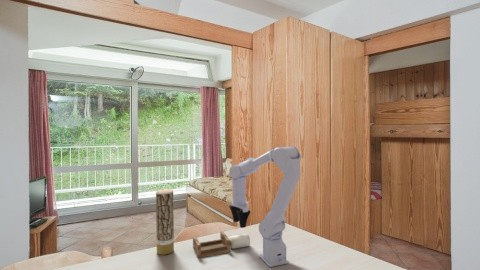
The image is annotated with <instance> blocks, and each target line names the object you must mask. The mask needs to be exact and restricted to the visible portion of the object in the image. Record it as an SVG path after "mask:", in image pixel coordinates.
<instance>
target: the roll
mask: <svg viewBox="0 0 480 270" xmlns="http://www.w3.org/2000/svg"><path fill="white" fill-rule="evenodd" d="M228 238H229V239H230V250H233V249H238V248H239V249H240V248H245V247H250V246H251V238H250V235H249V233H243V234H236V235H231V236H228Z"/></svg>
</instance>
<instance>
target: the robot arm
mask: <svg viewBox="0 0 480 270" xmlns="http://www.w3.org/2000/svg"><path fill="white" fill-rule="evenodd" d="M301 159H302V155H301V153H300V151H299V149H298V148H297V146H293V145H291V146H290V145H289V146H278V147H275V148H273V149H270V150H269V151H266V152H265V153H263V154H262V155H260V156H258V157H256V158H254V157H247V158H246V160H244V161H240V162H238V164H236V165H235V164H234V165H233V164H232V166H231V167H230V168H229V172H228V173H229V176H230V178H231V179H232V185H231V186H232V199H231V205H229V206H228V207H229V209H230V212H231V215H232V220H233V222H234V223H238V222H239V227H240V229H243V228H244V229H245V228H246V226H247V222H248V218H249V215H250V214H251V210H249V207H248V205H249V202H248V201H247V187H246V186H247V184H246V182H247V177H248V176H249V175H251V174H253V173H255V172H258V171H259V168H260V167H261V166H263V165H265V164H268V163H274V164H275V165H276V166H277V167H278V169H279V170H280V171H281V173H282V175H283V177H282V179H281V181H280V184H279V187H278V189H277V193H276V195H275V197H274V200H273V203H272V206H271V207H270V210H269V212H268V213H267V214H265V216H264V218H263V220H261V221H260V222H259V223H258V231H259V234H260V236H261V237H262V253H260V254H258V255H259V258H260V259H261V260H262V261H263V262H264V263H265V264H266V265H267V266H268V267H270V268H273V267H277V266H281V265H287V264H289V261H288V260H287V245H286V244H285V242H284V241H283V237H282V236H283V231H284V230H285V229H286V221H287V217H286V215H285V214H286V212H287V209H288V206H289V205H290V201H291V199H292V196H293V194H294V192H295V190H296V187H297V185H298V182H299V179H300V177H301Z"/></svg>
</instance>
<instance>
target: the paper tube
mask: <svg viewBox="0 0 480 270" xmlns="http://www.w3.org/2000/svg"><path fill="white" fill-rule="evenodd" d="M155 192H156V193H155V201H156V202H155V204H156V206H155V207H156V208H155V209H156V210H155V215H156V218H155V219H156V220H155V222H156V224H155V225H156V226H155V227H156V252H157V253H156V254H158V255H161V256H163V255H169V254H171V253H173V252H174V248H175V245H174V244H175V243H174V242H175V241H174V239H175V238H174V236H175V235H174V233H175V230H174V227H175V226H174V217H175V216H174V190H173V189H168V188H167V189H166V188H165V189H160V190H156V191H155Z"/></svg>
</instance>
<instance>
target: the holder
mask: <svg viewBox="0 0 480 270" xmlns="http://www.w3.org/2000/svg"><path fill="white" fill-rule="evenodd" d="M192 249H193V251H194V254H195V255H196V258H197V259H200V258H205V257H211V256H217V255H223V254H228V253H229V254H230V252H231V248H230V239H229V236H227V235H226V233H225V232H224V231H220V238H219V239H214V240H207V241H202V242H201V241H199V239H198V237H197V235H193V236H192Z"/></svg>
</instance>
